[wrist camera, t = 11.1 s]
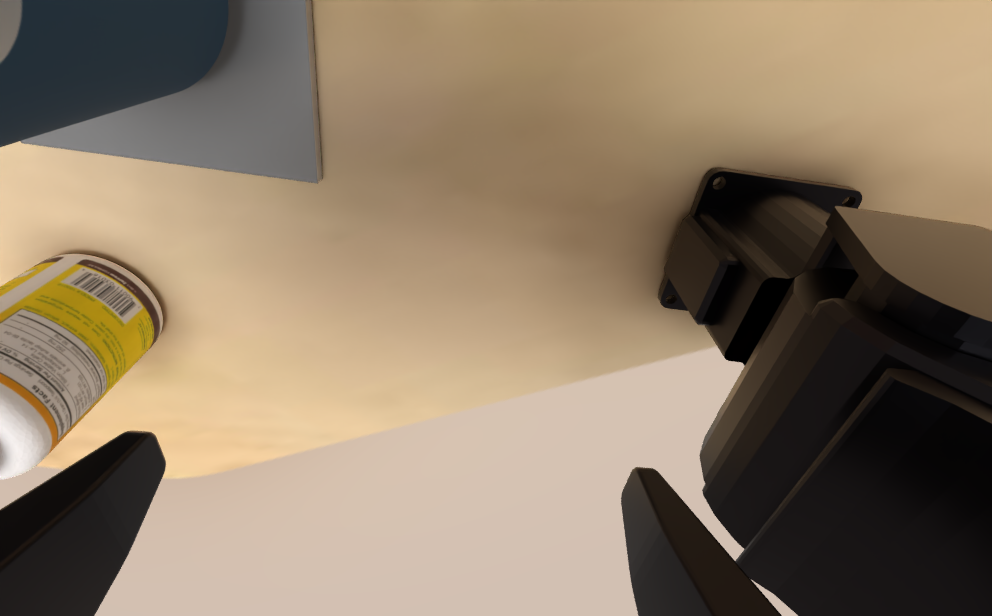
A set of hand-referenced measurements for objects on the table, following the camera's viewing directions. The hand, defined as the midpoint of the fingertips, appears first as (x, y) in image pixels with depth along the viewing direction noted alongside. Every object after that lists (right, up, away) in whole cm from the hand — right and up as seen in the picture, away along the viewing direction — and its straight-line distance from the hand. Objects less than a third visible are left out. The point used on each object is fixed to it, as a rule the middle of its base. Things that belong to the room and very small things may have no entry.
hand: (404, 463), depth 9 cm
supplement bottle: (-17, +3, +14) cm, 22 cm away
